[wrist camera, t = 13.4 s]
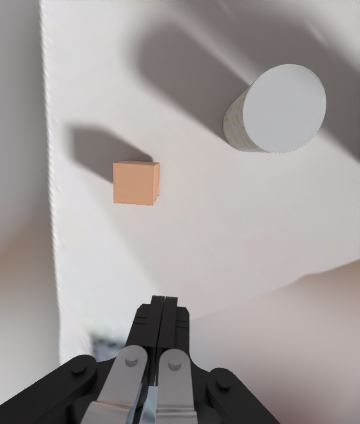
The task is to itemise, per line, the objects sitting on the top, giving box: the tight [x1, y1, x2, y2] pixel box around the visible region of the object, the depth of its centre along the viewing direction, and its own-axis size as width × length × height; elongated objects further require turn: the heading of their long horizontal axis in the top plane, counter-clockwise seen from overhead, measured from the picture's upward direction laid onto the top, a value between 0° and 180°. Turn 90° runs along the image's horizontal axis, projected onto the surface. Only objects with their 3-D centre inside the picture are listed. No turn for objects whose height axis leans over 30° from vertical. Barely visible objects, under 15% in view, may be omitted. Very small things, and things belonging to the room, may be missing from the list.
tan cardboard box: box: [113, 160, 160, 206], centre depth 32 cm, size 5×5×7 cm
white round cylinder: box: [223, 64, 326, 153], centre depth 28 cm, size 8×8×12 cm
